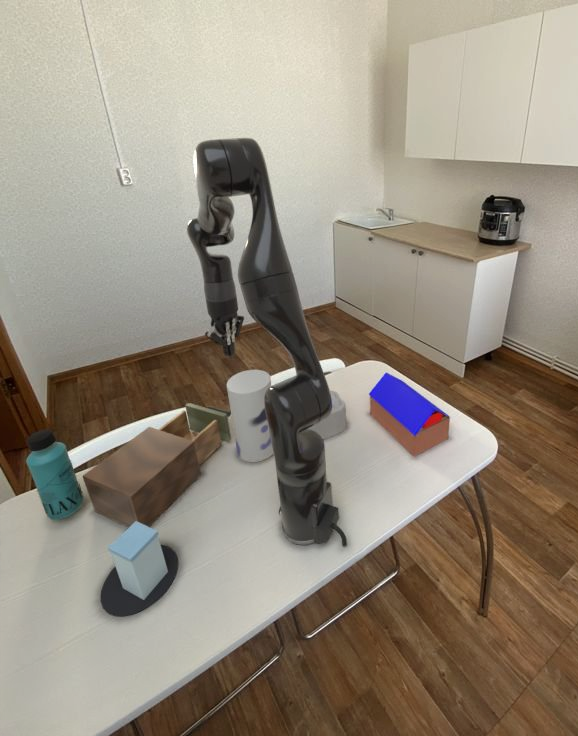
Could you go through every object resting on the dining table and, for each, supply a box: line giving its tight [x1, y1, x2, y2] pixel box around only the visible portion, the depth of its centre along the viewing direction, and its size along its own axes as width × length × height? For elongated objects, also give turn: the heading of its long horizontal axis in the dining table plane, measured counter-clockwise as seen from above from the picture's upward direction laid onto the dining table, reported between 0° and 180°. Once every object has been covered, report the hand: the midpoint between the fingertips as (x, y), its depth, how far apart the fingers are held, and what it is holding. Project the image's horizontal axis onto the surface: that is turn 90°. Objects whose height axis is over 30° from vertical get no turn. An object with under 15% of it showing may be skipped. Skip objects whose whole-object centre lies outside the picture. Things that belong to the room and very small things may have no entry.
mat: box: [100, 543, 179, 618], centre depth 67 cm, size 12×12×1 cm
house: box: [368, 372, 451, 457], centre depth 102 cm, size 12×20×12 cm, turn 32°
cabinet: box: [82, 426, 202, 529], centre depth 83 cm, size 16×14×10 cm
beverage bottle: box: [25, 428, 84, 521], centre depth 77 cm, size 6×7×20 cm
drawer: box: [157, 402, 232, 466], centre depth 95 cm, size 19×13×8 cm
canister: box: [107, 521, 168, 600], centre depth 65 cm, size 5×5×10 cm
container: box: [226, 369, 274, 463], centre depth 93 cm, size 10×10×20 cm
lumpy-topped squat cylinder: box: [308, 390, 347, 440], centre depth 103 cm, size 10×13×9 cm
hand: (230, 354), depth 104 cm, fingers closed
